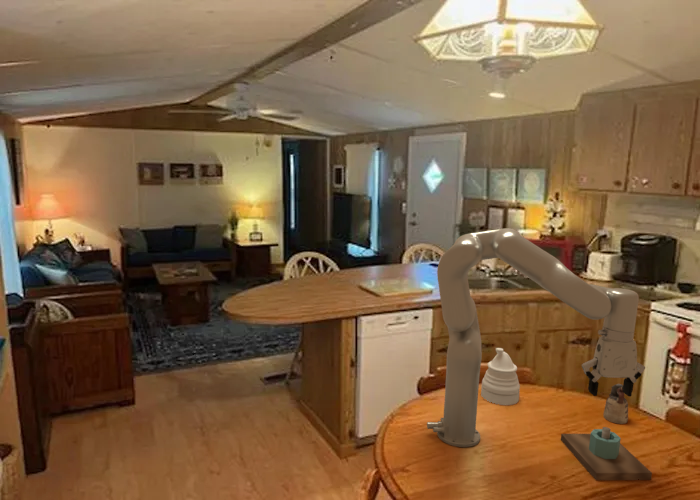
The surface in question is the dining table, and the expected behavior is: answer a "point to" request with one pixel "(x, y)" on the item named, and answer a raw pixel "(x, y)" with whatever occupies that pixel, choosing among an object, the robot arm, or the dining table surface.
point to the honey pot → (501, 380)
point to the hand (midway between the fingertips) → (609, 394)
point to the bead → (604, 445)
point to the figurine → (616, 406)
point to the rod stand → (605, 468)
